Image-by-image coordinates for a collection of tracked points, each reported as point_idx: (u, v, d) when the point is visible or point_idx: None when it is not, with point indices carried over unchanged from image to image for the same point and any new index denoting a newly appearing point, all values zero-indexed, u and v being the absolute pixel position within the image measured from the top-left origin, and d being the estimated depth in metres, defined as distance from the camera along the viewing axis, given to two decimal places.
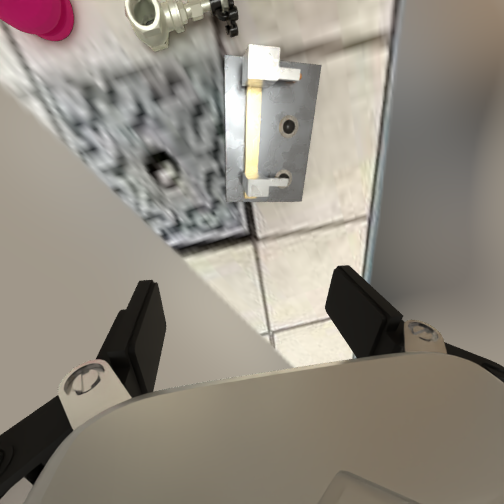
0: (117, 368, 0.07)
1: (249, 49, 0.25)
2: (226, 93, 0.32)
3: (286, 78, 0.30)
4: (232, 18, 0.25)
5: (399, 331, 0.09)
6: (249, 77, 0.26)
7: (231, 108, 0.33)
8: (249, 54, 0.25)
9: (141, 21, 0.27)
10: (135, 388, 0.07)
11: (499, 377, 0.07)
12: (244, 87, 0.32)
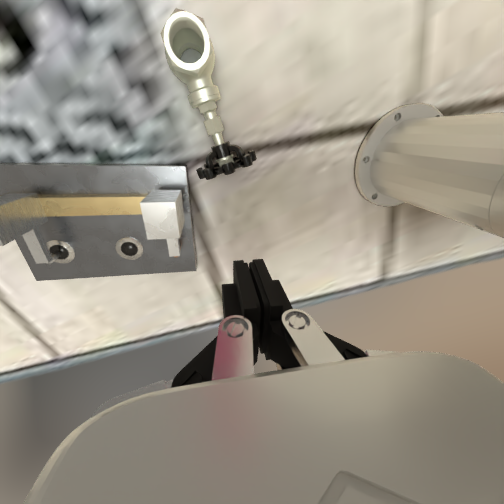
0: None
1: (170, 202, 0.20)
2: (145, 167, 0.24)
3: (168, 242, 0.26)
4: (205, 172, 0.22)
5: None
6: (141, 204, 0.20)
7: (129, 174, 0.24)
8: (165, 203, 0.20)
9: (195, 44, 0.20)
10: None
11: None
12: None
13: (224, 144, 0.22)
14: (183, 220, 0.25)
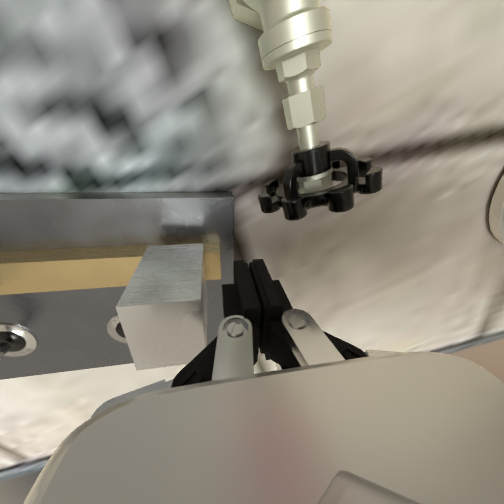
0: None
1: (189, 301, 0.09)
2: (161, 201, 0.13)
3: None
4: (287, 207, 0.10)
5: None
6: (119, 309, 0.08)
7: (132, 213, 0.13)
8: (177, 303, 0.08)
9: None
10: None
11: None
12: (182, 240, 0.14)
13: (324, 147, 0.11)
14: (206, 299, 0.13)
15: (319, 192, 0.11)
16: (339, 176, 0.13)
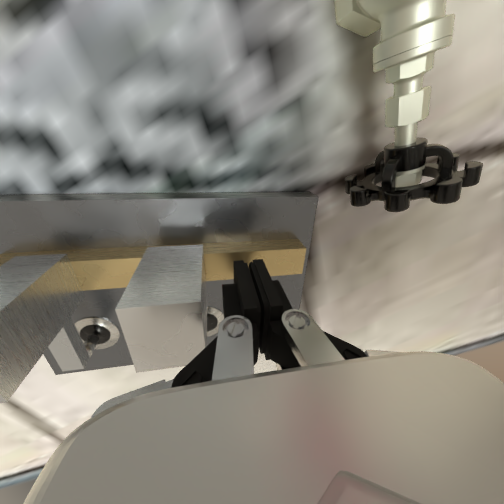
0: None
1: (189, 303, 0.08)
2: (254, 200, 0.14)
3: None
4: (393, 199, 0.11)
5: None
6: (118, 311, 0.08)
7: (226, 212, 0.14)
8: (177, 304, 0.08)
9: None
10: None
11: None
12: (265, 237, 0.15)
13: (425, 143, 0.12)
14: (206, 300, 0.13)
15: (420, 185, 0.12)
16: (423, 171, 0.14)
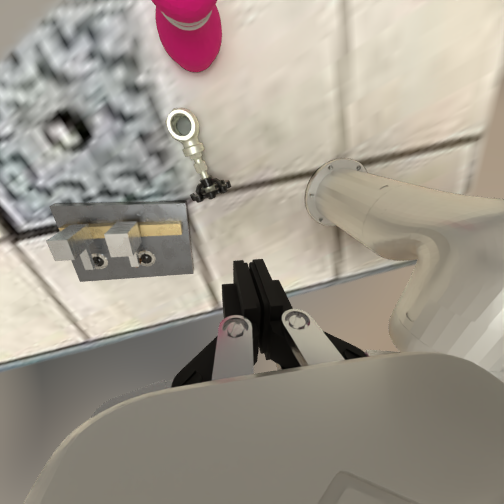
0: None
1: (124, 234, 0.31)
2: (158, 205, 0.36)
3: (129, 257, 0.37)
4: (195, 198, 0.33)
5: None
6: (105, 235, 0.31)
7: (148, 209, 0.37)
8: (120, 234, 0.31)
9: (186, 116, 0.31)
10: None
11: None
12: (166, 220, 0.38)
13: (208, 178, 0.34)
14: (139, 242, 0.36)
15: (207, 193, 0.34)
16: None
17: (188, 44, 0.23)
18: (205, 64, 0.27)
